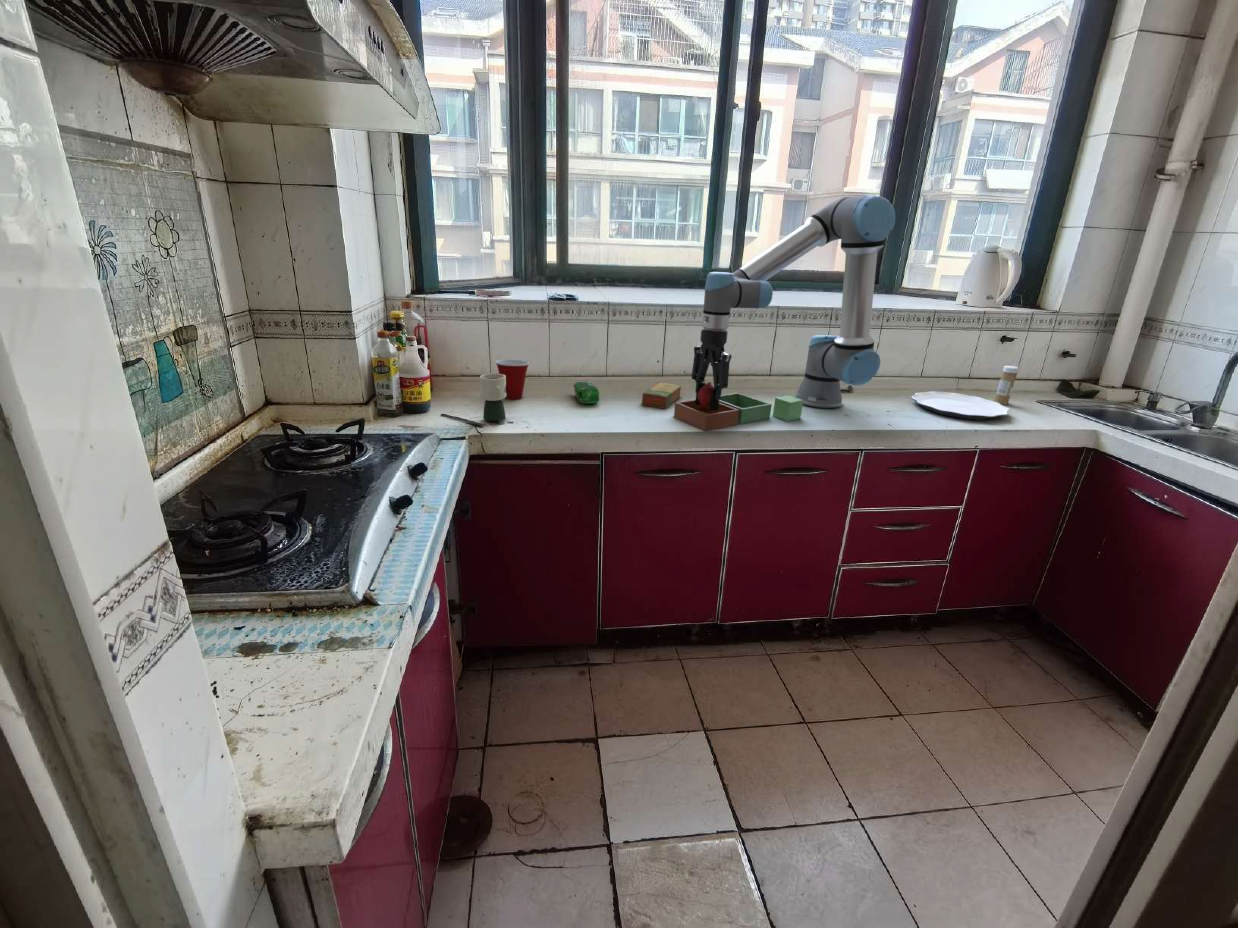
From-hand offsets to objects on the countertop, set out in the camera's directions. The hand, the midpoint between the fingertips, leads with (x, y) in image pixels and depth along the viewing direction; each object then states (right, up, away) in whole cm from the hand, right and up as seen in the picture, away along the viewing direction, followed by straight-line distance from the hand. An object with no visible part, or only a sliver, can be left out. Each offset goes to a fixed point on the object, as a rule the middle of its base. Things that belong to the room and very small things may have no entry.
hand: (706, 406), depth 177 cm
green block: (+26, -2, +9) cm, 28 cm away
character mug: (-62, -5, -7) cm, 63 cm away
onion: (0, 0, 0) cm, 0 cm away
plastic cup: (-61, +5, +16) cm, 63 cm away
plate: (+90, +1, +26) cm, 94 cm away
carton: (-12, +4, +20) cm, 23 cm away
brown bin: (0, -4, +2) cm, 4 cm away
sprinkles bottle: (+112, +5, +37) cm, 118 cm away
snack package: (-37, +4, +17) cm, 41 cm away
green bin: (+11, -2, +9) cm, 15 cm away
